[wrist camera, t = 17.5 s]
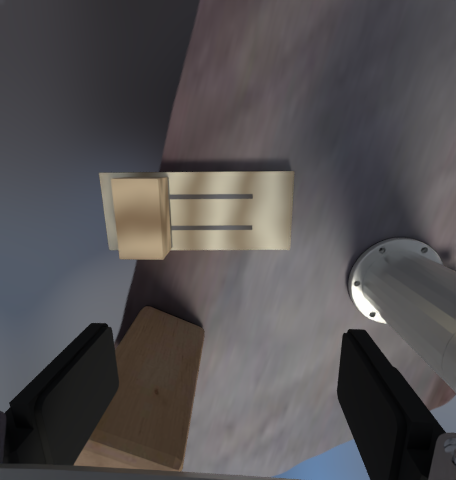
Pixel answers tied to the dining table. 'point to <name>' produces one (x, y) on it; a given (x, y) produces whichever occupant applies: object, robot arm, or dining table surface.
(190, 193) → the birch plank
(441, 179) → the dining table surface
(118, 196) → the block
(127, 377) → the wooden block
